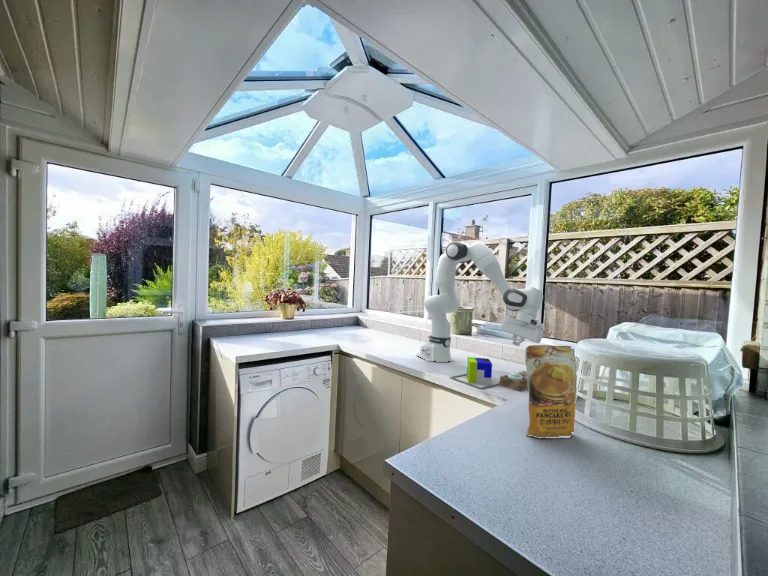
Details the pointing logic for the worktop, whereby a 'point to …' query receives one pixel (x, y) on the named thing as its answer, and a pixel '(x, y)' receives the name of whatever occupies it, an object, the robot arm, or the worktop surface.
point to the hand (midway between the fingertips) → (515, 345)
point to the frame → (471, 384)
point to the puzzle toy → (479, 371)
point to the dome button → (515, 376)
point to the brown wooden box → (515, 382)
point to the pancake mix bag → (551, 390)
